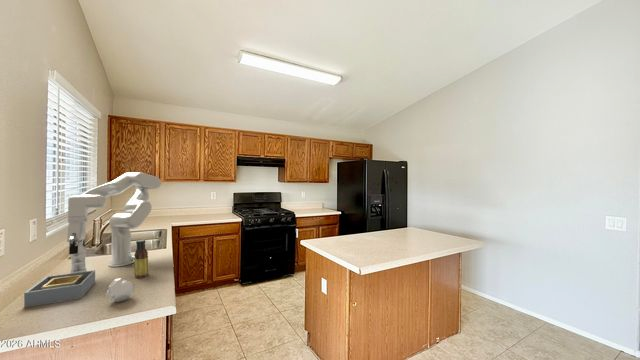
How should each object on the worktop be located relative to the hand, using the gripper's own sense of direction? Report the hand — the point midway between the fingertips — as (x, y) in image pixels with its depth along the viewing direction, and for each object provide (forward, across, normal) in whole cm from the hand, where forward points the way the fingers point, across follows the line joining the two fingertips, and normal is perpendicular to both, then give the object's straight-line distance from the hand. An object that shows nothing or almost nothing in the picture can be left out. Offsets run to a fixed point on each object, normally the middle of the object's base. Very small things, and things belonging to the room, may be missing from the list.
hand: (77, 251), depth 136 cm
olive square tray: (+15, +18, +1) cm, 24 cm away
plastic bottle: (+15, -1, +1) cm, 15 cm away
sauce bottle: (+15, +10, +30) cm, 35 cm away
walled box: (+15, +18, +1) cm, 24 cm away
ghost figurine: (+15, +39, +26) cm, 49 cm away
